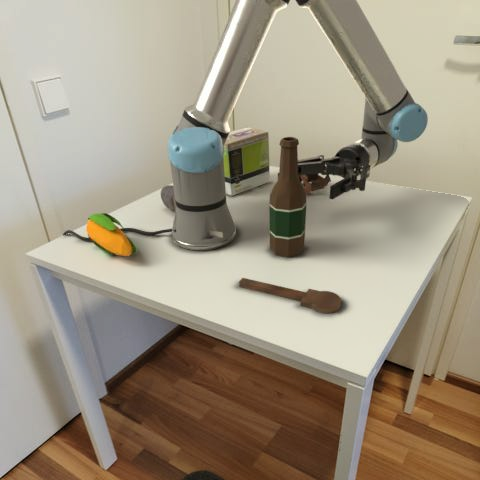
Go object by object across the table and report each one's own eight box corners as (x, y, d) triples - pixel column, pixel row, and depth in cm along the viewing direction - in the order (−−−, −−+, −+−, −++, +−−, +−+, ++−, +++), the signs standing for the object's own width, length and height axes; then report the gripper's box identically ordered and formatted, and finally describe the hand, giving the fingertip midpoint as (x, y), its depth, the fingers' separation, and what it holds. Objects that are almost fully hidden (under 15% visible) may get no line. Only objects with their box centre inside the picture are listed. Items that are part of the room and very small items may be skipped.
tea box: (248, 175, 141) (247, 125, 132) (270, 183, 135) (270, 131, 126) (210, 188, 134) (205, 136, 125) (231, 197, 128) (228, 143, 119)
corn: (103, 201, 108) (142, 228, 95) (112, 230, 113) (150, 259, 100) (74, 212, 105) (110, 241, 92) (84, 241, 110) (120, 272, 97)
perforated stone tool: (156, 206, 125) (152, 181, 120) (172, 201, 127) (169, 176, 123) (185, 223, 115) (182, 197, 111) (202, 217, 117) (199, 191, 113)
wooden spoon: (234, 291, 89) (234, 286, 88) (247, 277, 92) (247, 272, 92) (334, 316, 81) (335, 310, 80) (344, 300, 85) (344, 294, 84)
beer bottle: (262, 250, 102) (260, 139, 87) (285, 238, 106) (287, 131, 91) (288, 261, 97) (291, 147, 83) (311, 248, 101) (317, 137, 87)
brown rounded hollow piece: (332, 185, 133) (337, 165, 125) (319, 209, 130) (324, 190, 122) (295, 170, 135) (298, 150, 127) (281, 193, 132) (283, 174, 124)
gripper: (401, 185, 104) (353, 216, 92) (311, 165, 118) (259, 190, 106) (407, 152, 100) (358, 180, 88) (313, 135, 114) (259, 157, 101)
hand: (304, 185), depth 97 cm, fingers open, 13 cm apart
